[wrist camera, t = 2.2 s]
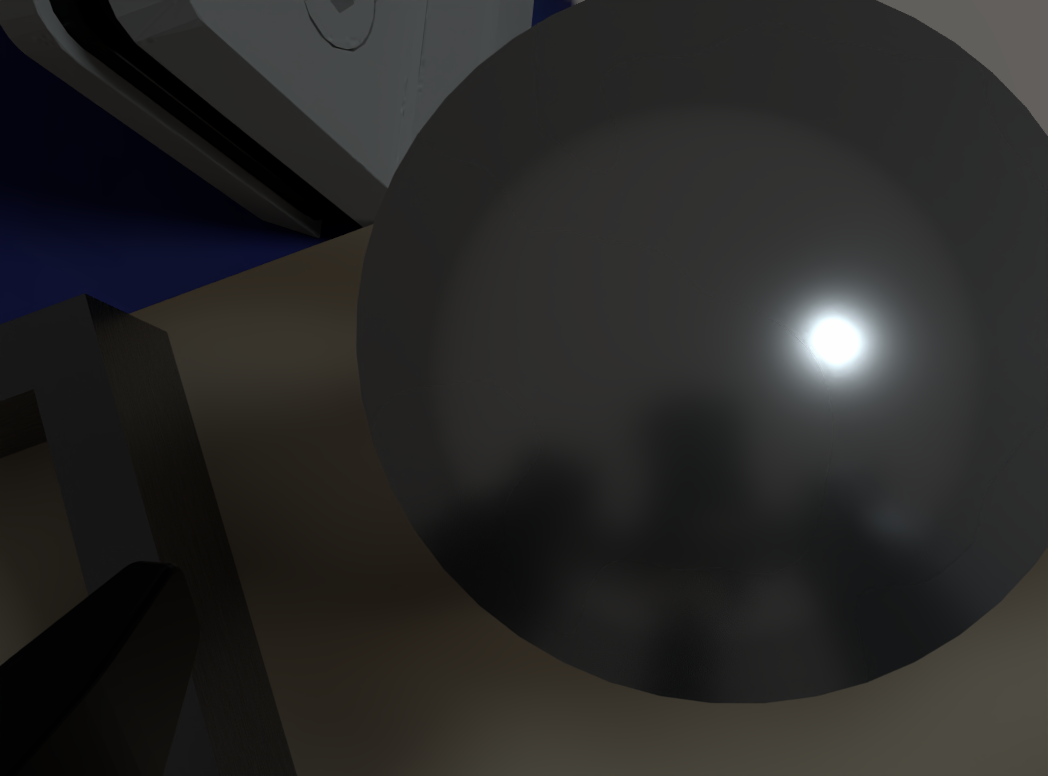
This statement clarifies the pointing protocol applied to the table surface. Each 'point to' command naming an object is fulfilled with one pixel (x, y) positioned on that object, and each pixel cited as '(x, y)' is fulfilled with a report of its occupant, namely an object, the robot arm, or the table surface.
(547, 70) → the pin
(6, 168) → the table surface
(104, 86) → the grey arched block
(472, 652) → the board
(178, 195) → the table surface
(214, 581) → the knuckle socket
